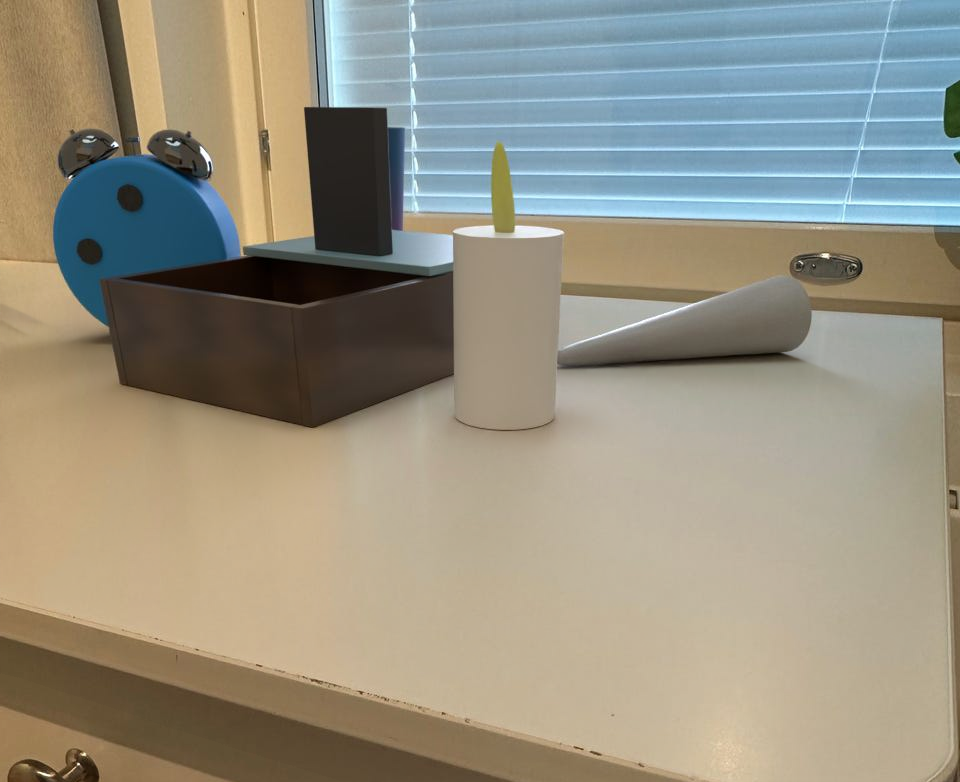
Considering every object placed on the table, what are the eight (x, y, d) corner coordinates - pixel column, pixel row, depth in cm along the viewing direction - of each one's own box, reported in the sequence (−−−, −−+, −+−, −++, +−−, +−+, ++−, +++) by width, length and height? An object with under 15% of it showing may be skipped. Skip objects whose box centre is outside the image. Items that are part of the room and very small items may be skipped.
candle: (577, 414, 56) (595, 141, 48) (505, 436, 52) (511, 142, 44) (505, 394, 59) (511, 138, 52) (433, 413, 56) (428, 139, 48)
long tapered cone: (589, 323, 60) (813, 275, 65) (545, 317, 65) (756, 274, 71) (595, 408, 62) (810, 355, 68) (552, 396, 67) (755, 348, 73)
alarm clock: (251, 329, 76) (227, 128, 69) (237, 345, 71) (209, 130, 63) (97, 328, 76) (56, 127, 68) (72, 345, 71) (24, 128, 63)
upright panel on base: (243, 254, 67) (225, 106, 62) (369, 235, 78) (363, 107, 73) (429, 276, 59) (426, 107, 54) (541, 251, 70) (546, 109, 65)
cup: (327, 301, 88) (314, 126, 80) (383, 293, 92) (375, 126, 84) (367, 311, 83) (357, 127, 76) (424, 303, 87) (420, 127, 80)
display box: (119, 383, 61) (98, 278, 57) (378, 315, 82) (374, 235, 78) (312, 427, 53) (301, 308, 49) (544, 339, 74) (548, 251, 70)
